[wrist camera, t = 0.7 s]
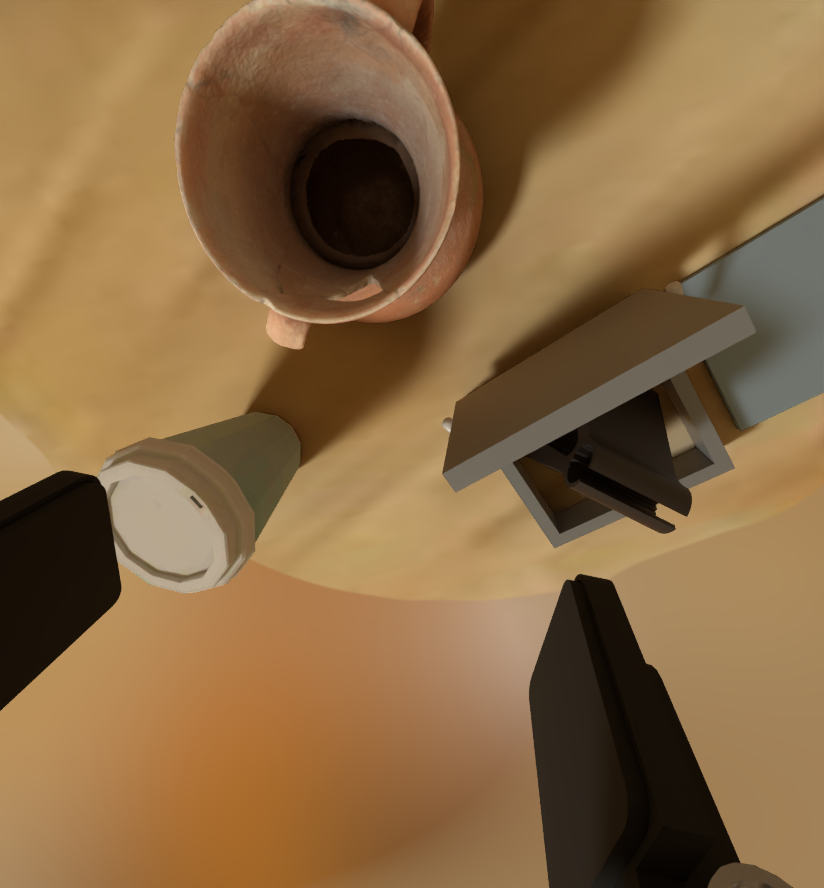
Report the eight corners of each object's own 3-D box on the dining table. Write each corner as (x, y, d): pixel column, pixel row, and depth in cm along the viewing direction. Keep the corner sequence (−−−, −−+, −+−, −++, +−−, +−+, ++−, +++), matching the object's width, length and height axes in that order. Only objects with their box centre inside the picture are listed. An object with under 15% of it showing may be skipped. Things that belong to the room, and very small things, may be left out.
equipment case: (642, 275, 30) (772, 288, 17) (728, 445, 34) (894, 570, 20) (447, 396, 36) (424, 482, 22) (539, 532, 39) (569, 679, 26)
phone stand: (586, 355, 33) (637, 403, 22) (656, 392, 33) (741, 457, 22) (522, 452, 37) (539, 535, 26) (586, 484, 37) (629, 580, 26)
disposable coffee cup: (267, 513, 43) (165, 632, 29) (187, 427, 40) (35, 513, 27) (347, 457, 39) (275, 563, 26) (265, 359, 37) (135, 417, 23)
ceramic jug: (417, 364, 35) (384, 423, 22) (250, 278, 34) (113, 286, 21) (541, 114, 28) (601, -18, 15) (336, -1, 27) (211, -245, 14)
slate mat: (831, 191, 27) (838, 189, 27) (892, 354, 30) (900, 356, 30) (667, 289, 31) (671, 289, 30) (737, 428, 33) (741, 431, 33)
